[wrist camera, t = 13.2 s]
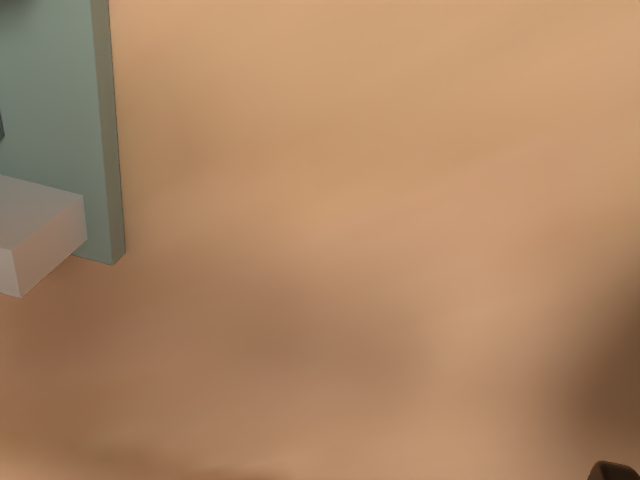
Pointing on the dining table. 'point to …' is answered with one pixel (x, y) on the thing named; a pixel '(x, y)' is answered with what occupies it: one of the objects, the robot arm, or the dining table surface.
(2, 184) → the vise
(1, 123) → the steel block
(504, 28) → the dining table surface
